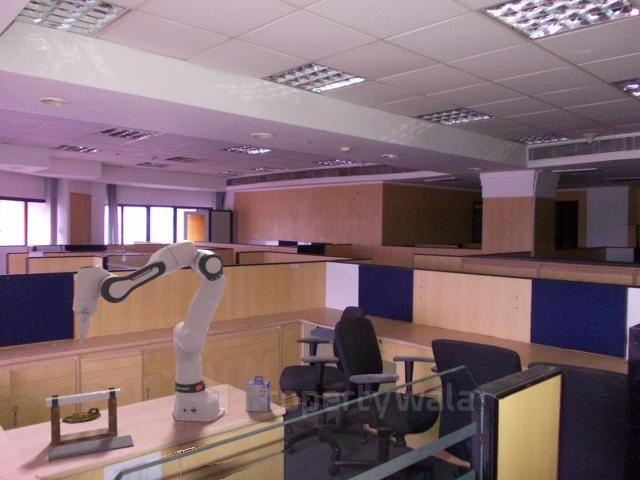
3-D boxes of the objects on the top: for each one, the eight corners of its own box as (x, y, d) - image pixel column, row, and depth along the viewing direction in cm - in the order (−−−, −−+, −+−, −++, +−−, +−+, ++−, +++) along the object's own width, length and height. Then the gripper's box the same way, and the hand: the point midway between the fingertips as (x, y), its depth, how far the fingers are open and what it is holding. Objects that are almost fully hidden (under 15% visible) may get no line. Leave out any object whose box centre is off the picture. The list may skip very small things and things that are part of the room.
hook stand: (116, 429, 208) (115, 386, 207) (117, 435, 202) (116, 390, 202) (51, 440, 198) (50, 395, 197) (51, 446, 192) (50, 400, 192)
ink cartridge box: (271, 408, 231) (270, 375, 231) (267, 412, 226) (267, 379, 225) (249, 406, 233) (249, 375, 233) (246, 411, 228) (245, 378, 227)
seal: (61, 428, 213) (101, 422, 219) (61, 417, 212) (101, 411, 219) (62, 418, 221) (100, 412, 228) (62, 407, 221) (100, 402, 227)
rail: (120, 394, 207) (119, 388, 207) (120, 396, 204) (120, 390, 204) (46, 404, 195) (46, 398, 195) (46, 407, 193) (45, 400, 193)
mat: (130, 435, 202) (130, 434, 202) (133, 445, 193) (133, 444, 193) (49, 450, 189) (49, 448, 189) (48, 461, 180) (48, 459, 180)
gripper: (94, 310, 194) (90, 347, 194) (94, 302, 213) (90, 336, 212) (76, 309, 191) (72, 347, 191) (77, 302, 210) (73, 336, 210)
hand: (81, 341), depth 202 cm, fingers open, 8 cm apart
